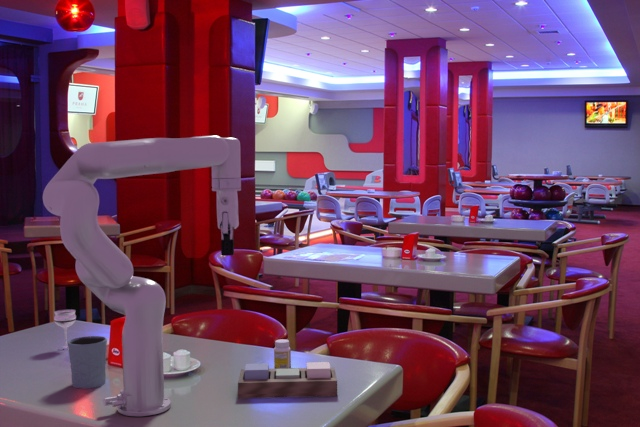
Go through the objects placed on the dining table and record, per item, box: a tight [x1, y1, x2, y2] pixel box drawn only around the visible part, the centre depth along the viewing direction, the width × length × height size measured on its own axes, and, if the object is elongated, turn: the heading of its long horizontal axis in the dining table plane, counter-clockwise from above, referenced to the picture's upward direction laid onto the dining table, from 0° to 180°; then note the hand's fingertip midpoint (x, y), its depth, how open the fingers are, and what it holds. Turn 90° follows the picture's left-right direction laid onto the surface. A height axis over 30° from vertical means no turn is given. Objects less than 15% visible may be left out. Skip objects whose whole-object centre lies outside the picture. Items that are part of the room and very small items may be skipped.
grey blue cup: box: [67, 335, 108, 390], centre depth 194 cm, size 10×10×12 cm
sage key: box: [276, 369, 299, 379], centre depth 187 cm, size 6×6×4 cm
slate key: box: [244, 362, 270, 380], centre depth 187 cm, size 6×6×4 cm
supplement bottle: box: [273, 338, 292, 369], centre depth 206 cm, size 5×5×8 cm
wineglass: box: [53, 308, 77, 348], centre depth 232 cm, size 7×7×12 cm
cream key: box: [306, 361, 331, 378], centre depth 187 cm, size 6×6×4 cm
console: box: [237, 366, 338, 399], centre depth 187 cm, size 25×12×4 cm, turn 92°
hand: (227, 254), depth 189 cm, fingers closed
